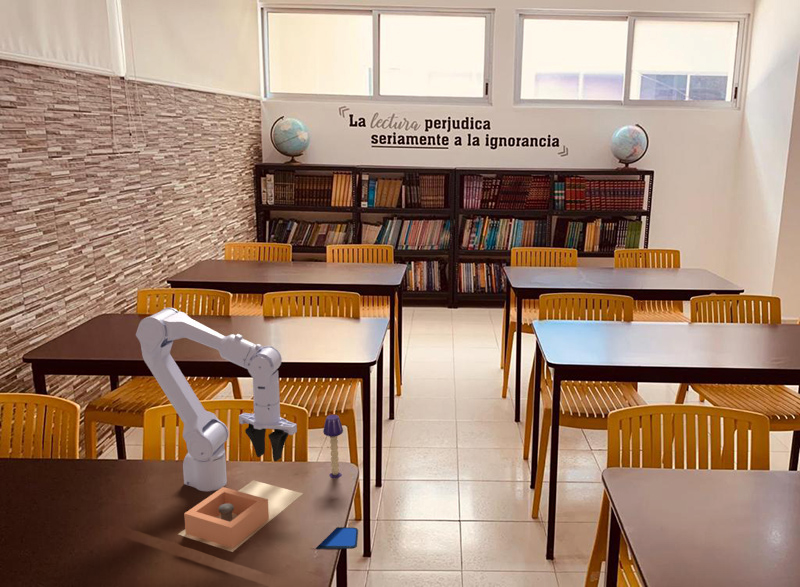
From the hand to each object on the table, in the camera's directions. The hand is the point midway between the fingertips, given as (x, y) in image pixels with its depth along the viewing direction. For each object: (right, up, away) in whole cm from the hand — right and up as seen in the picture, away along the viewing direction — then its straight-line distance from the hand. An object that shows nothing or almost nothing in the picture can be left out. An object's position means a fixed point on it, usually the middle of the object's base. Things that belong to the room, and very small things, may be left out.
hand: (268, 457), depth 156 cm
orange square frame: (-6, -11, -13) cm, 18 cm away
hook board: (-4, -11, -8) cm, 15 cm away
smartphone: (+14, -14, -15) cm, 24 cm away
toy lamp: (+14, -8, +9) cm, 18 cm away
